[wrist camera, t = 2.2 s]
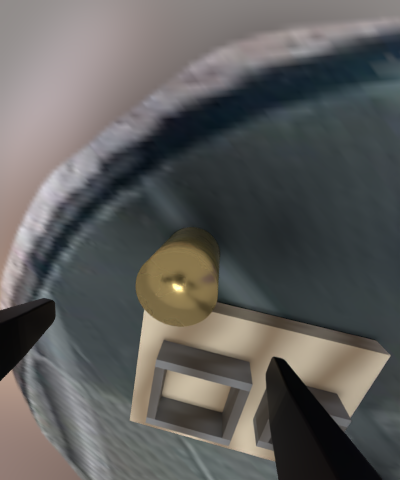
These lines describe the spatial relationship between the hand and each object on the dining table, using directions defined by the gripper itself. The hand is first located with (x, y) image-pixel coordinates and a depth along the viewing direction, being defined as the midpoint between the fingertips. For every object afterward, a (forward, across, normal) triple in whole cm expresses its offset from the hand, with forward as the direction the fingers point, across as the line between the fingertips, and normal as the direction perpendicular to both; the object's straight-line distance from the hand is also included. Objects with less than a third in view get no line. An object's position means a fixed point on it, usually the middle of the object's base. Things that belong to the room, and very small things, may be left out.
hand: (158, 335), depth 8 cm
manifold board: (+9, -7, +12) cm, 16 cm away
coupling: (+9, 0, 0) cm, 9 cm away
